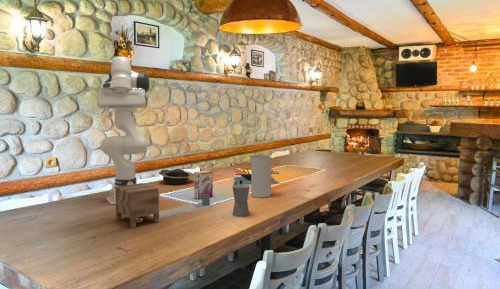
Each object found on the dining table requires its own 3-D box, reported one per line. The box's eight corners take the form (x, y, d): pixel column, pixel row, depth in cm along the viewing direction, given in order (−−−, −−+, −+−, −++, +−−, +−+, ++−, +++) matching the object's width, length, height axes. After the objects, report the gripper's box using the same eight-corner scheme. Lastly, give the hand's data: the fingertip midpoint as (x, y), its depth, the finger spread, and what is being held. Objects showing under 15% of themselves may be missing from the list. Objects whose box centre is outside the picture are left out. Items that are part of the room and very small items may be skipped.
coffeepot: (254, 216, 194) (254, 181, 193) (237, 218, 190) (237, 183, 189) (242, 209, 208) (242, 176, 207) (226, 211, 204) (226, 178, 203)
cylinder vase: (260, 199, 231) (260, 158, 228) (247, 195, 240) (247, 156, 238) (275, 196, 239) (275, 156, 237) (261, 192, 248) (261, 154, 246)
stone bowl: (160, 179, 292) (161, 167, 291) (193, 181, 295) (194, 169, 294) (156, 185, 267) (157, 172, 267) (192, 187, 270) (193, 174, 270)
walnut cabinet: (114, 219, 188) (113, 187, 187) (142, 214, 198) (141, 183, 196) (129, 228, 175) (128, 193, 173) (159, 222, 185) (158, 188, 183)
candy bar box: (198, 199, 229) (198, 173, 227) (193, 198, 232) (193, 172, 231) (213, 196, 237) (213, 170, 235) (208, 195, 240) (208, 169, 239)
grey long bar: (204, 204, 218) (203, 192, 217) (212, 207, 212) (212, 195, 211) (146, 216, 194) (146, 203, 194) (154, 220, 188) (153, 206, 188)
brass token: (130, 221, 187) (130, 219, 187) (139, 219, 190) (139, 217, 190) (134, 223, 183) (134, 221, 183) (144, 221, 187) (144, 219, 186)
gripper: (145, 91, 176) (146, 118, 171) (98, 91, 171) (98, 119, 166) (145, 84, 170) (145, 112, 166) (96, 84, 165) (95, 113, 161)
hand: (121, 116), depth 166 cm, fingers open, 8 cm apart
